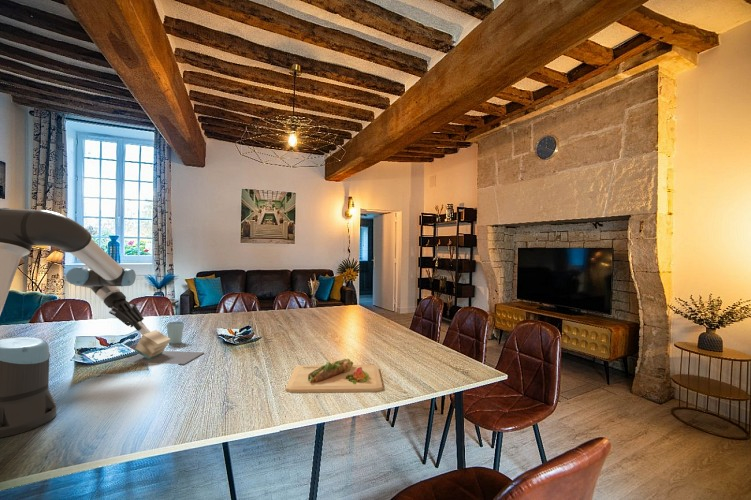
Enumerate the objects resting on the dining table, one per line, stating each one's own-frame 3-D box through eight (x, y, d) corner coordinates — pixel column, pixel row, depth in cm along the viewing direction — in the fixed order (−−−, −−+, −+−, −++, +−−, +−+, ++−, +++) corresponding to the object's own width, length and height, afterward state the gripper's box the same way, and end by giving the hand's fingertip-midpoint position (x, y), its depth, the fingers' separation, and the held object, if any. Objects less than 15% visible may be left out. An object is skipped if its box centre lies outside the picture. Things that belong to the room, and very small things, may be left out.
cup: (163, 345, 161) (163, 324, 161) (170, 340, 169) (171, 321, 169) (179, 345, 162) (179, 324, 162) (186, 340, 170) (186, 321, 170)
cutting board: (377, 368, 138) (377, 351, 138) (382, 393, 115) (383, 372, 115) (296, 369, 135) (296, 351, 135) (284, 394, 112) (284, 373, 112)
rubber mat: (204, 353, 150) (204, 352, 150) (183, 365, 135) (184, 363, 135) (146, 351, 151) (146, 350, 151) (120, 362, 136) (120, 361, 136)
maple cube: (161, 353, 147) (170, 338, 147) (149, 359, 139) (158, 344, 139) (147, 344, 148) (156, 329, 147) (133, 350, 140) (142, 334, 139)
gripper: (118, 299, 151) (151, 335, 150) (92, 304, 138) (129, 344, 137) (129, 288, 150) (163, 325, 150) (105, 292, 137) (141, 332, 137)
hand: (147, 334), depth 144 cm, fingers closed
